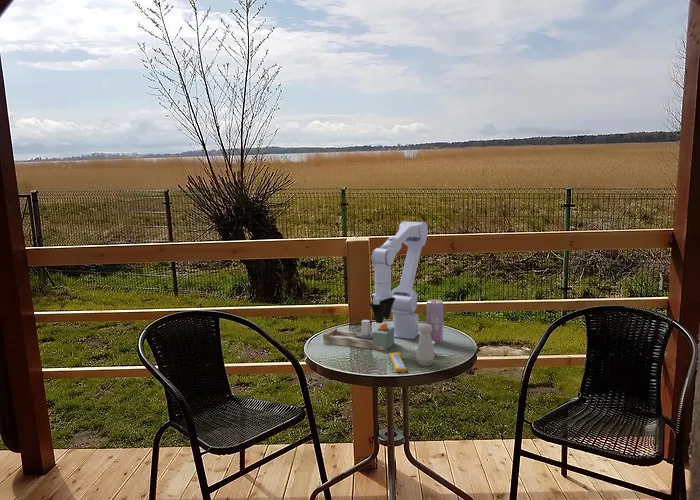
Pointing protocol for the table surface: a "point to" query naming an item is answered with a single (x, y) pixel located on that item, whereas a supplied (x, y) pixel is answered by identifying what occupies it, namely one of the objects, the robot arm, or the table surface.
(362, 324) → the carriage
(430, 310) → the beverage can
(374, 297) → the robot arm
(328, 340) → the rail track
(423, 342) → the salt shaker
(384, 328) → the button
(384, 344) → the end cabinet
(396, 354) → the candy bar
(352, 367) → the table surface
